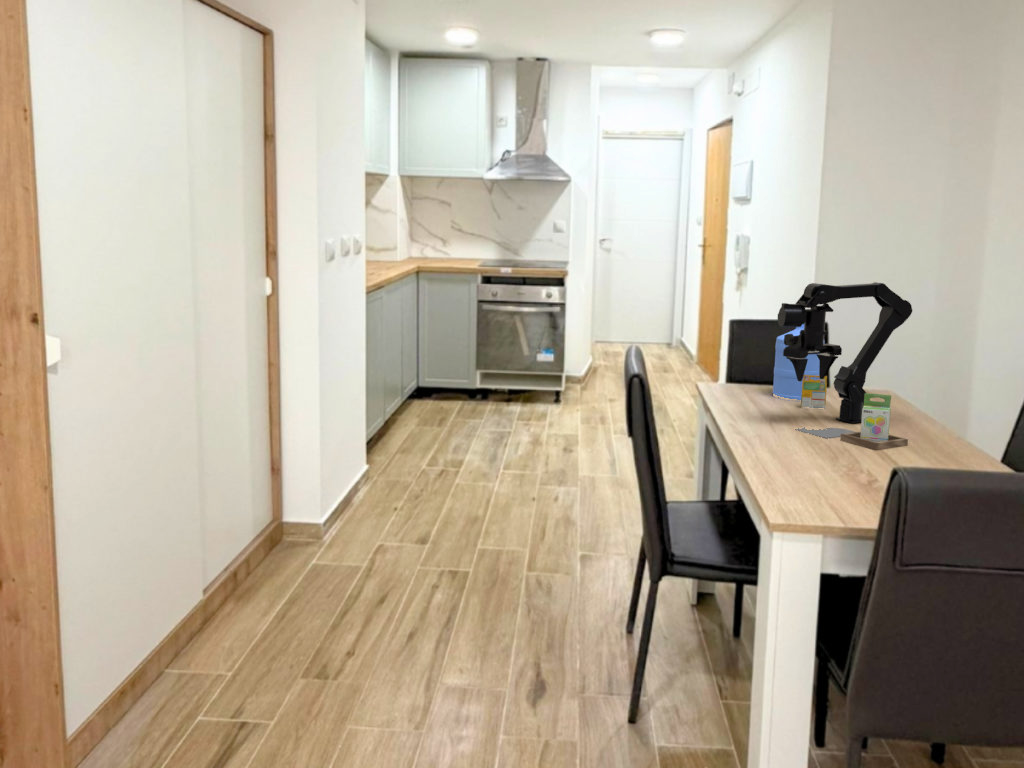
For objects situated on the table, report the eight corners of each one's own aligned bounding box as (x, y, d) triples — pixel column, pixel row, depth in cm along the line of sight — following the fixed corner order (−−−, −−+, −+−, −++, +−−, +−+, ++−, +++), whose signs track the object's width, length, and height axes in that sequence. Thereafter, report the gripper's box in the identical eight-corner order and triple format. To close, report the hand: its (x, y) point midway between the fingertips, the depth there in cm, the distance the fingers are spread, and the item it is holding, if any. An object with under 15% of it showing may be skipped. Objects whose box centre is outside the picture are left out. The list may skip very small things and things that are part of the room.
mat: (824, 425, 279) (824, 423, 279) (862, 435, 267) (862, 433, 267) (788, 429, 272) (788, 427, 272) (826, 439, 260) (826, 437, 260)
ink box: (859, 444, 255) (863, 395, 253) (860, 441, 259) (864, 392, 257) (887, 447, 253) (891, 397, 250) (887, 444, 256) (892, 395, 254)
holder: (871, 437, 264) (871, 430, 264) (907, 446, 254) (908, 439, 253) (840, 441, 258) (840, 434, 258) (876, 450, 248) (876, 443, 248)
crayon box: (824, 411, 302) (827, 374, 300) (825, 412, 299) (827, 376, 297) (800, 409, 303) (802, 373, 301) (800, 411, 300) (803, 374, 298)
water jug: (826, 405, 311) (833, 319, 307) (778, 404, 311) (784, 318, 307) (812, 396, 327) (818, 315, 322) (766, 395, 327) (772, 314, 322)
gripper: (814, 323, 288) (811, 374, 291) (770, 325, 278) (767, 378, 281) (844, 326, 279) (840, 379, 281) (800, 329, 269) (796, 384, 272)
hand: (810, 380), depth 279 cm, fingers open, 9 cm apart
